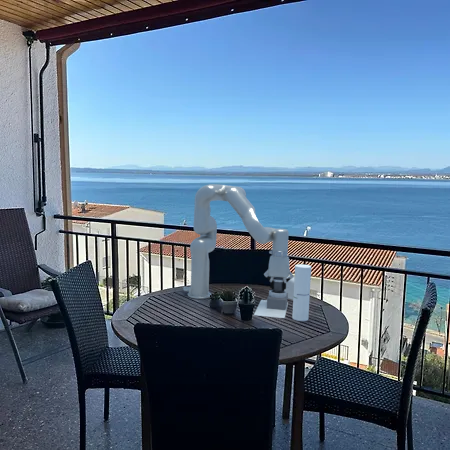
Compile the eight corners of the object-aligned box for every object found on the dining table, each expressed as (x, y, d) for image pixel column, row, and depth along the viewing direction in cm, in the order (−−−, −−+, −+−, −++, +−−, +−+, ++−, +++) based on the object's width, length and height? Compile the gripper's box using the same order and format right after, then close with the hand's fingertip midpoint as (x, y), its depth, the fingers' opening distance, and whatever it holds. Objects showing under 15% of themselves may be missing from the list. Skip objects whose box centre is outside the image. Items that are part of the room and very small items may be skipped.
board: (253, 316, 194) (253, 315, 194) (261, 301, 220) (261, 299, 220) (284, 319, 191) (284, 318, 191) (288, 303, 217) (288, 302, 217)
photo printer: (279, 297, 228) (280, 274, 227) (285, 296, 231) (286, 274, 229) (294, 302, 220) (295, 278, 219) (299, 300, 223) (300, 277, 221)
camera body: (266, 308, 205) (267, 294, 204) (269, 300, 219) (270, 287, 218) (285, 310, 203) (286, 296, 202) (287, 302, 217) (288, 288, 216)
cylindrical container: (304, 323, 187) (307, 268, 184) (289, 320, 191) (292, 266, 188) (310, 319, 193) (313, 265, 190) (295, 316, 197) (298, 263, 194)
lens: (272, 294, 208) (273, 277, 207) (273, 291, 213) (273, 275, 212) (282, 295, 207) (283, 278, 206) (283, 292, 212) (284, 276, 211)
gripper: (261, 253, 206) (260, 290, 208) (296, 256, 203) (294, 293, 205) (263, 251, 213) (261, 286, 215) (297, 253, 210) (295, 289, 212)
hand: (278, 289), depth 210 cm, fingers closed on lens, 5 cm apart
